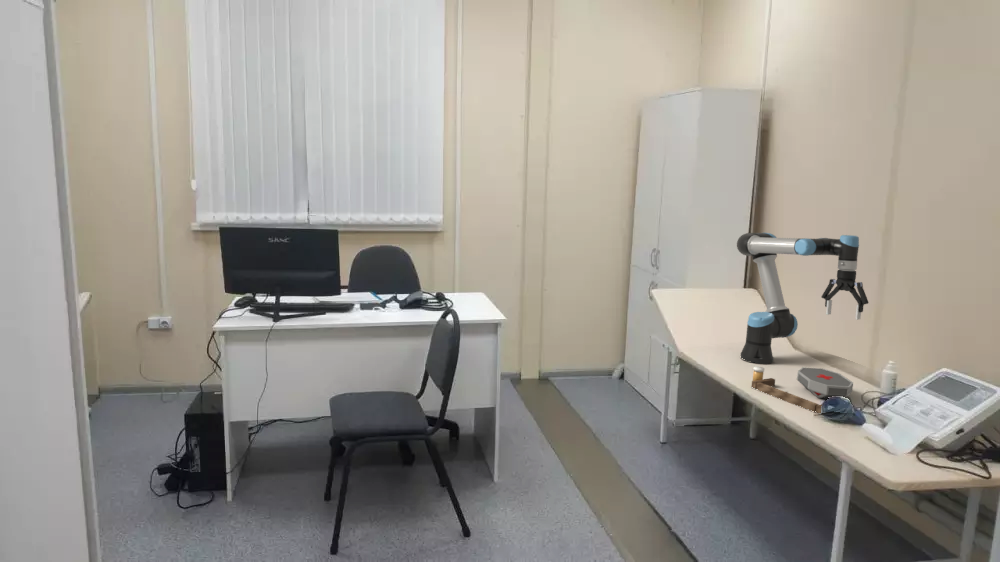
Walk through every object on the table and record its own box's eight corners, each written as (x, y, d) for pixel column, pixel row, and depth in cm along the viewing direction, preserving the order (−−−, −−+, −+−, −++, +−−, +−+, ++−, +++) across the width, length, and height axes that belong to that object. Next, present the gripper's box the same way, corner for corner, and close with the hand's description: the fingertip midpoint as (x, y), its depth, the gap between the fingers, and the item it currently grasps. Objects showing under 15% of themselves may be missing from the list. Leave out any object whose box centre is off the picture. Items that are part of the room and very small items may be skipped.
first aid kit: (858, 405, 262) (830, 385, 287) (860, 387, 261) (832, 369, 286) (813, 402, 263) (790, 383, 288) (816, 385, 262) (792, 366, 286)
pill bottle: (749, 382, 285) (751, 367, 284) (756, 381, 287) (758, 366, 286) (757, 386, 281) (759, 370, 280) (764, 384, 283) (766, 368, 282)
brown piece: (751, 387, 278) (752, 381, 278) (770, 384, 284) (771, 378, 283) (820, 414, 249) (821, 407, 249) (840, 410, 255) (841, 403, 254)
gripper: (815, 267, 299) (812, 313, 302) (870, 273, 279) (866, 322, 281) (825, 266, 303) (821, 311, 306) (879, 272, 283) (875, 320, 285)
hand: (842, 316), depth 294 cm, fingers open, 13 cm apart
